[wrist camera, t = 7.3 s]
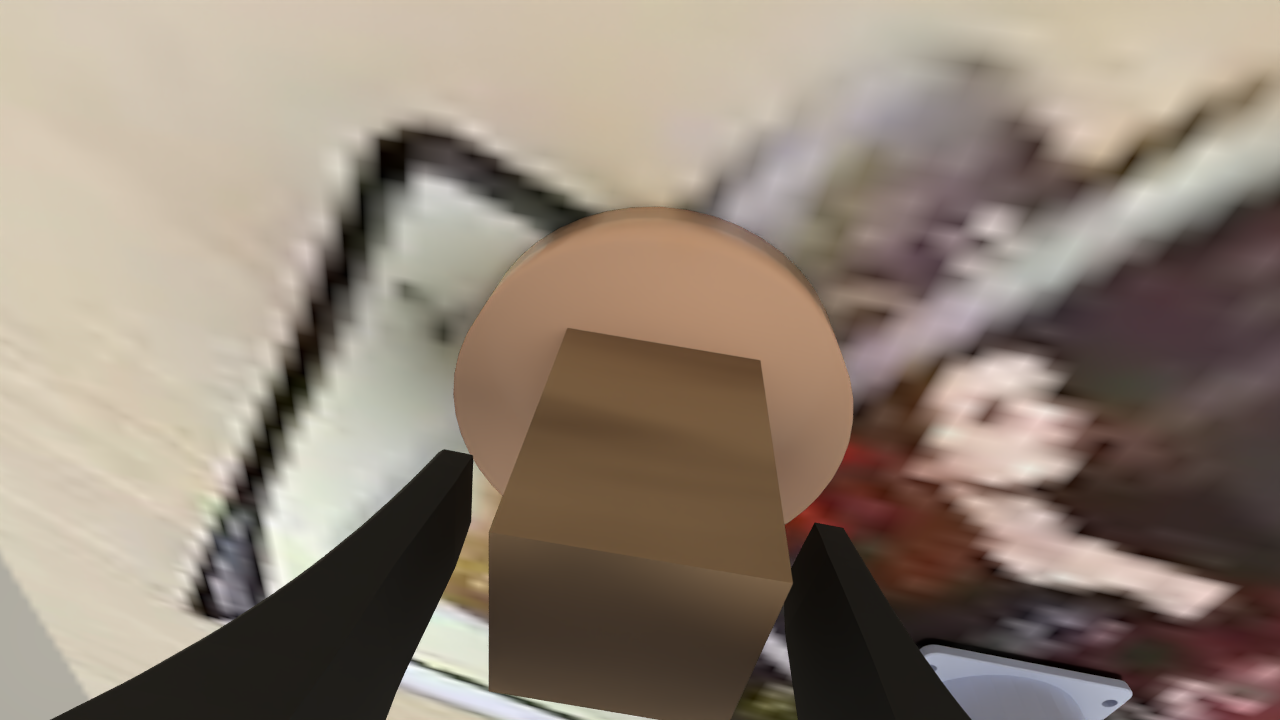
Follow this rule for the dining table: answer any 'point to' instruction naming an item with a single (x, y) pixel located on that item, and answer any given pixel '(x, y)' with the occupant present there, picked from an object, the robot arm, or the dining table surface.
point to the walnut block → (639, 534)
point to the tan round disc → (659, 332)
